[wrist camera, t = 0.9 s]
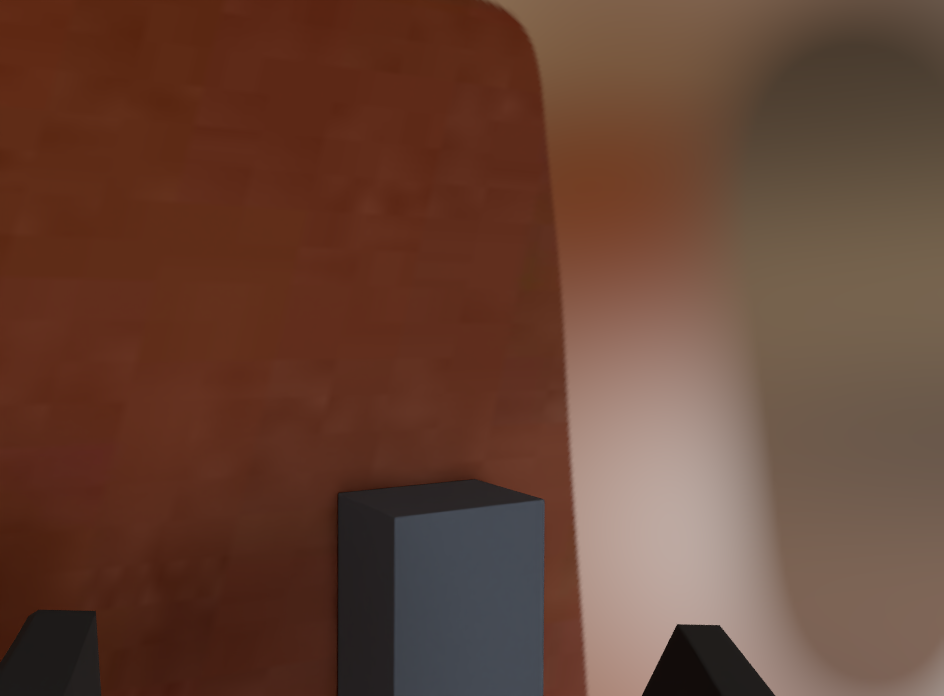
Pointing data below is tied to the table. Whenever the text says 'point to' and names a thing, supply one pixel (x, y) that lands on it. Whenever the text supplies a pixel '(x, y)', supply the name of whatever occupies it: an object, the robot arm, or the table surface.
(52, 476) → the table surface
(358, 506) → the loose pad
